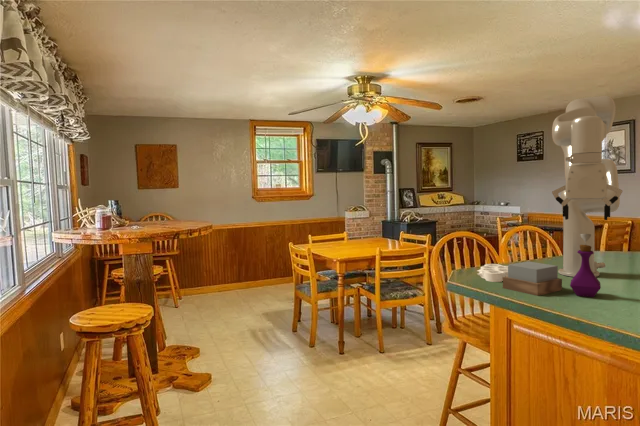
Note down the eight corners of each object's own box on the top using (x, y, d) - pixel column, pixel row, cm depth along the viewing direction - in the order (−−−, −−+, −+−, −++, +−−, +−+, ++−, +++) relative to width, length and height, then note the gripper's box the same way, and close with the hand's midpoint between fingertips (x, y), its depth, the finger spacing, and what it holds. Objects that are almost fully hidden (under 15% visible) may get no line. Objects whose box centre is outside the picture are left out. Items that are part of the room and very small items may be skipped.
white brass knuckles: (523, 284, 145) (477, 282, 150) (518, 273, 162) (476, 272, 167) (523, 274, 145) (476, 272, 150) (518, 264, 162) (476, 263, 167)
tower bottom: (526, 284, 145) (526, 272, 145) (561, 291, 135) (561, 278, 134) (502, 289, 139) (502, 277, 139) (537, 297, 129) (537, 284, 128)
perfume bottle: (600, 299, 123) (601, 235, 122) (569, 296, 127) (570, 234, 126) (600, 293, 129) (600, 233, 128) (571, 290, 133) (571, 232, 132)
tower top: (528, 273, 144) (528, 261, 143) (557, 278, 135) (557, 265, 134) (508, 277, 139) (507, 264, 139) (536, 282, 130) (536, 269, 130)
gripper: (551, 161, 127) (550, 220, 128) (623, 157, 118) (622, 220, 118) (553, 162, 133) (553, 218, 134) (622, 159, 124) (621, 219, 125)
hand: (585, 219), depth 126 cm, fingers open, 9 cm apart
